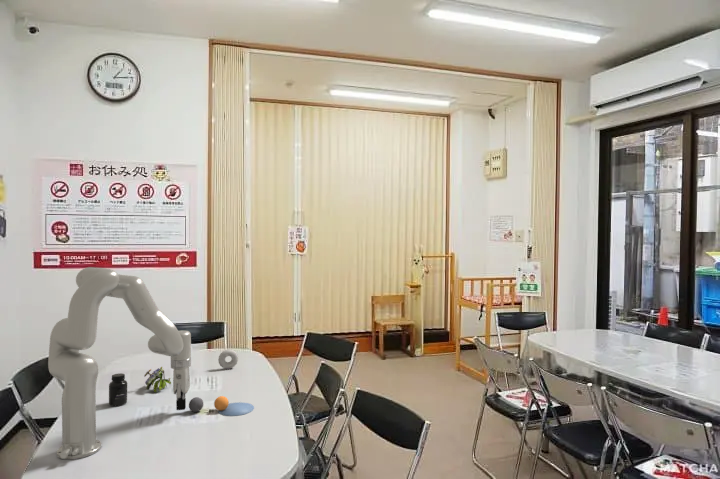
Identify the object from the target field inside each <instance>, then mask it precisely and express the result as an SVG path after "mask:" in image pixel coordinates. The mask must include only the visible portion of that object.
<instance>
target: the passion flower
mask: <svg viewBox="0 0 720 479" xmlns="http://www.w3.org/2000/svg"><path fill="white" fill-rule="evenodd" d="M151 371H152V368H150V369H148V370H147V371H146V372H145V374H144V378H145V377H146V376H148V375H149V377H148V378H147V379H146V380H145V381H144V383H145V385H146V387H145V389H146V390H150V389H151V386H153V393H155V394H157V392H158V391H159V392H160V391H161V390H163V389H165V388H168V387H167V384H170V385H171V384H172V382H171V377H168V378H165V370H164V368H163V366H161V367H159V368H157V369H155V370H154V371H153V372H151ZM150 372H151V373H150Z"/></svg>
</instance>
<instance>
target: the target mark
mask: <svg viewBox="0 0 720 479" xmlns="http://www.w3.org/2000/svg"><path fill="white" fill-rule="evenodd" d="M254 409H255V405H254V404H251V403H249V402H241V401H240V402H231V403H229V404H228V407H227V408H226V409H225V410H222V411H219V410H217V412H218V413H219V414H220V415H222V416H226V417H238V416H243V415H247V414H249V413H251V412H253V411H254Z"/></svg>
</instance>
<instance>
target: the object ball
mask: <svg viewBox="0 0 720 479" xmlns="http://www.w3.org/2000/svg"><path fill="white" fill-rule="evenodd" d="M228 404H230V403H229V399H228V398H227V397H226V396H223V395H222V396H218V397H216V399H215V400H214V403H213V406H214V408H215V409H216V410H217V411H218V410H219V411H222V410H225V409H226V408H227V407H228Z"/></svg>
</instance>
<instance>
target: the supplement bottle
mask: <svg viewBox="0 0 720 479" xmlns="http://www.w3.org/2000/svg"><path fill="white" fill-rule="evenodd" d="M125 378H126V375H125V373H115V374H112V375H111V381H110V382H109V384H108V405H109V406H111V407H120V406H124V405H126V404H127V402H128V381H127V380H126V379H125Z"/></svg>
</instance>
